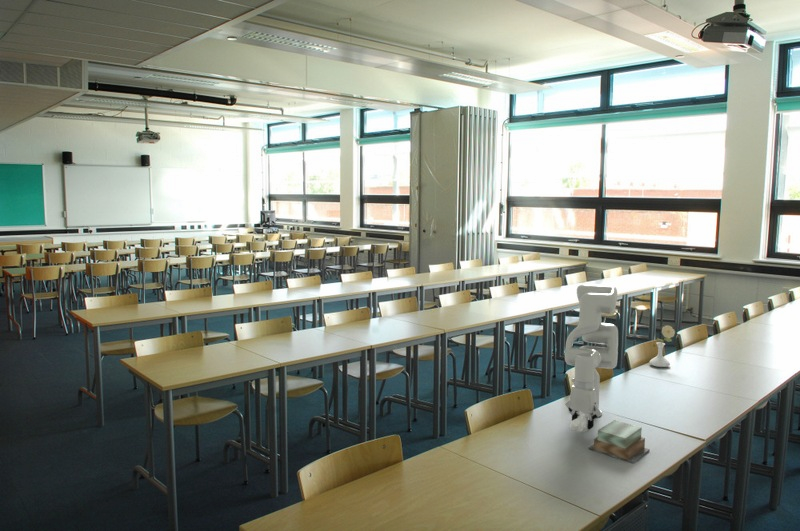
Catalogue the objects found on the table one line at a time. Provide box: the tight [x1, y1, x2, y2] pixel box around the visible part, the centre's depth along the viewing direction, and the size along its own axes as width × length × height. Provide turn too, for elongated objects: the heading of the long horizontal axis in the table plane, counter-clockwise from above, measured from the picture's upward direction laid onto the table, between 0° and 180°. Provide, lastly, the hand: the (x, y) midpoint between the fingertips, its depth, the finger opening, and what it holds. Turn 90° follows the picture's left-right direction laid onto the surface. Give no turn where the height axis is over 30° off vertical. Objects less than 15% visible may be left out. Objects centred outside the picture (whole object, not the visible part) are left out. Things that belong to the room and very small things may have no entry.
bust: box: [569, 411, 590, 433], centre depth 239 cm, size 12×8×11 cm
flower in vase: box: [649, 324, 676, 368], centre depth 346 cm, size 13×11×25 cm
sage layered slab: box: [588, 419, 650, 464], centre depth 230 cm, size 18×15×9 cm
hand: (582, 425), depth 240 cm, fingers closed on bust, 6 cm apart
